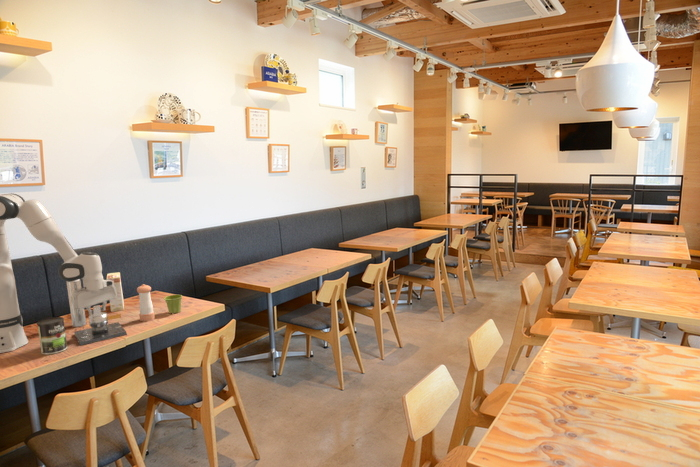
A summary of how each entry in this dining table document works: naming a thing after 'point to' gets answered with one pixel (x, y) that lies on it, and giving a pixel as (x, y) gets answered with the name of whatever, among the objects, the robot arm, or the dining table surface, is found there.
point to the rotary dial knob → (100, 317)
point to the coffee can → (52, 335)
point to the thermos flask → (76, 314)
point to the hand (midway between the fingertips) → (97, 312)
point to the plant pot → (173, 303)
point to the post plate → (99, 333)
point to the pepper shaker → (145, 303)
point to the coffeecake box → (118, 302)
